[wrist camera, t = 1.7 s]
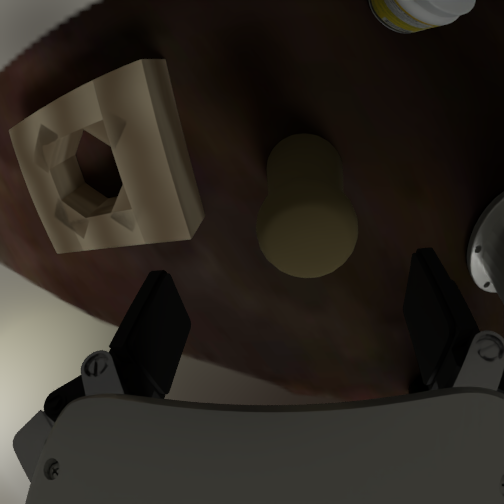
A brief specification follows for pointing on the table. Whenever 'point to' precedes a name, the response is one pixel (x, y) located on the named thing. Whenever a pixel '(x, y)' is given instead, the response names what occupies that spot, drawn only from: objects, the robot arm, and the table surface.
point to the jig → (126, 156)
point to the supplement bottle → (418, 13)
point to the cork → (306, 209)
